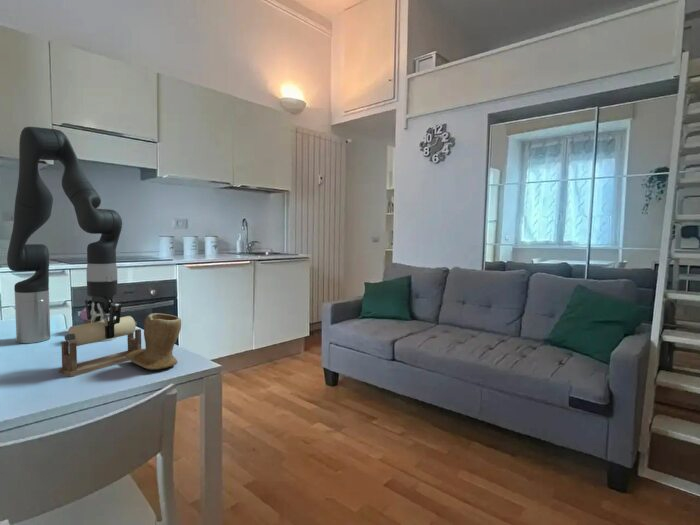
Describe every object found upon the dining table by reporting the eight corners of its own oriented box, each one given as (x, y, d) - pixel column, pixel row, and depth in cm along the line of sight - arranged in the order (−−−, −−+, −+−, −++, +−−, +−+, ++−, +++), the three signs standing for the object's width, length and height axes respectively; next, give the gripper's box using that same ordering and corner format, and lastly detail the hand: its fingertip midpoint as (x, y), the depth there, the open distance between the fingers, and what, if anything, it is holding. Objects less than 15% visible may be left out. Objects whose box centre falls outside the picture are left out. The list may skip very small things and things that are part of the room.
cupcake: (101, 327, 158) (101, 302, 157) (112, 330, 153) (111, 305, 152) (76, 331, 151) (75, 305, 150) (86, 335, 146) (85, 308, 145)
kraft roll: (60, 346, 108) (60, 326, 108) (129, 331, 125) (129, 313, 125) (72, 349, 106) (71, 329, 105) (141, 334, 123) (141, 316, 122)
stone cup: (188, 365, 117) (188, 315, 116) (147, 376, 108) (146, 321, 107) (164, 354, 127) (164, 307, 126) (124, 363, 118) (123, 313, 116)
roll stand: (58, 372, 108) (57, 342, 108) (132, 353, 127) (131, 326, 126) (70, 377, 106) (70, 345, 105) (144, 356, 124) (143, 329, 123)
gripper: (74, 278, 114) (75, 335, 116) (103, 282, 108) (105, 343, 109) (100, 275, 121) (102, 330, 122) (130, 279, 114) (131, 337, 115)
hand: (103, 336), depth 115 cm, fingers closed on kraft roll, 5 cm apart
